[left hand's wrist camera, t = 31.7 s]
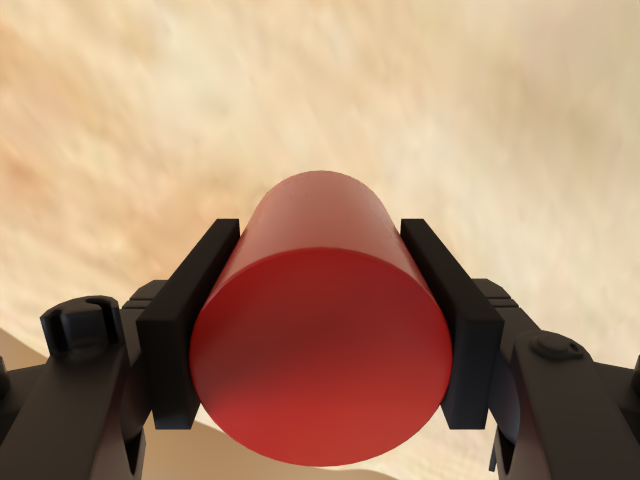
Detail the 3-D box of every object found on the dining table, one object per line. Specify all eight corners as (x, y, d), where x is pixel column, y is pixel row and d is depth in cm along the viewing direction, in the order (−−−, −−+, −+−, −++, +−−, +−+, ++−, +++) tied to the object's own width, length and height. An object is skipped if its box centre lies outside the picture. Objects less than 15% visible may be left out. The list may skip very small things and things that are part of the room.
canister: (219, 229, 15) (131, 350, 8) (334, 138, 14) (349, 188, 7) (308, 327, 17) (300, 501, 10) (419, 253, 16) (502, 390, 9)
